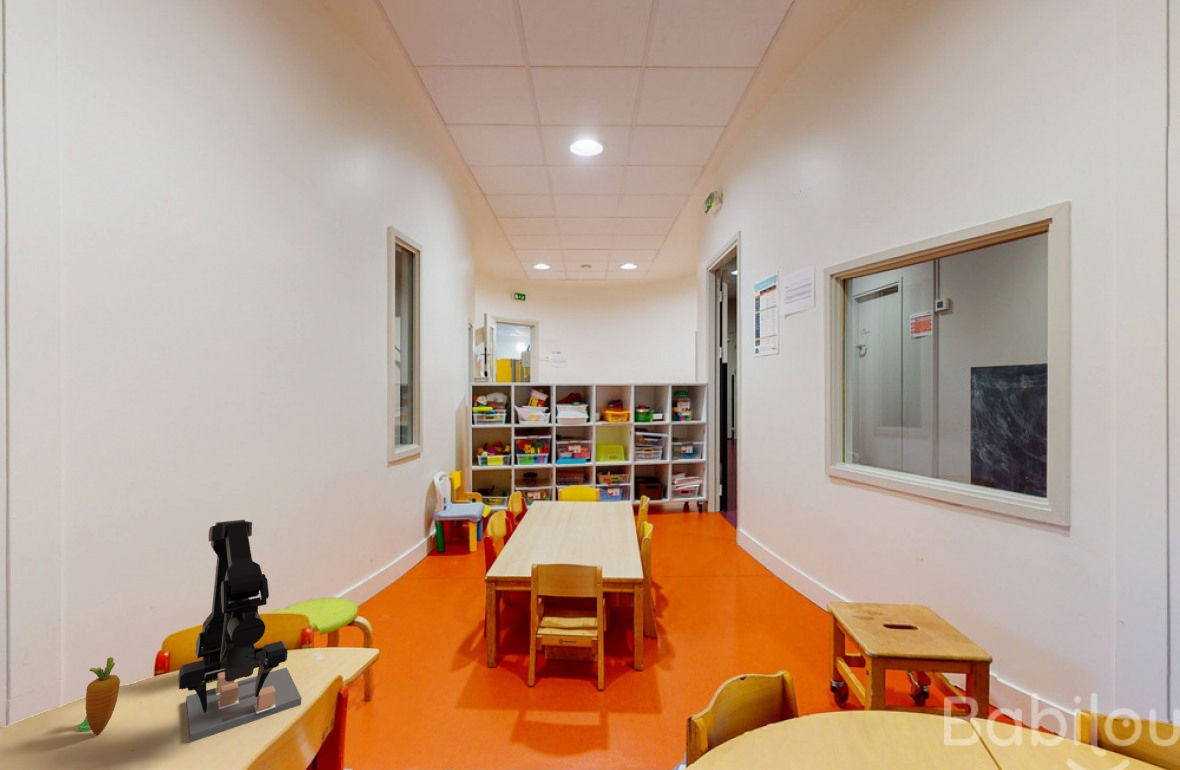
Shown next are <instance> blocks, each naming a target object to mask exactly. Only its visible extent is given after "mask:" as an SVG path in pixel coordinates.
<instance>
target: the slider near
mask: <svg viewBox="0 0 1180 770" xmlns="http://www.w3.org/2000/svg"><path fill="white" fill-rule="evenodd" d="M275 692H276V691H275V688H274V686H273V685H272V686H269V687H266V688H263V689H261V690H260V692H259V695H258V696H257V703H256V704H257V707H258V710H260V709H263V708H266V707H269V706H272V705H274V704H275Z"/></svg>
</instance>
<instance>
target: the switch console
mask: <svg viewBox="0 0 1180 770" xmlns="http://www.w3.org/2000/svg"><path fill="white" fill-rule="evenodd" d="M256 680H257V675H255V676H252V677H247V678H244V679H242V680H238V681H236V682H237V683H238V687H239V689H238V700H237V701H235V702H232V703H229V704H226V705H222V706H221V704H220V692H218V690H217V686H216V687H214V688H210V689H206V692H207V711H206V712H205V713H204V711H203V708H202V705H201V702H200V698H199V696H198V694H197V693H193V694H189V695H186V697H185V708H186V709H185V710H186V719H187V721H186V722H187V730H188V741H189V743H192V742H196V741H199V740H202V739H204V738H207V737H210V736H215V735H216V734H218V733H221V732H222V733H223V732H225V731H228V730H230V729H234V728H237V727H239V726H242V725H244V724H248V723H252V722H254V721H257V720H261V719H263V718H266V717H268V716H271V715H274V714H278V713H280V712H283V711H285V710H289V709H292V708H295V707H297V706H301V705H302V695H301V694H300V691H299V690H298V688H297V686H296V684H295V682H294V679H293V678H292V675H291V673H290V672H289V669H288V667H283V668H279V669H277V670H271V671H270V673H269V674H268V676H267V678H266V679H265V681H264V684H263V686H262V688H261V689H263V688H266V687H269V686H272V685H273V686H274V688H275V691H276V692H275V704H274V705H272V706H269V707H266V708H263V709H260V710H258V707H257V704H256V703H257V697H255V686H256Z"/></svg>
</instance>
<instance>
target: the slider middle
mask: <svg viewBox="0 0 1180 770" xmlns="http://www.w3.org/2000/svg"><path fill="white" fill-rule="evenodd" d="M238 689H239V687H238V683H237V681H234V683H230V684H227V685H224V686H221V691H220V704H221V706H222V705H226V704H229V703H232V702H235V701H237V700H238Z"/></svg>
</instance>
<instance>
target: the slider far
mask: <svg viewBox="0 0 1180 770" xmlns="http://www.w3.org/2000/svg"><path fill="white" fill-rule="evenodd" d="M216 680H217V681H216V687H217V690H218V692H220V691H221V686H224V685H227V684H230V683H234V682H235V680H234V681H231V682H227V681H225V672H222V673H218V678H217V679H216Z"/></svg>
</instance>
